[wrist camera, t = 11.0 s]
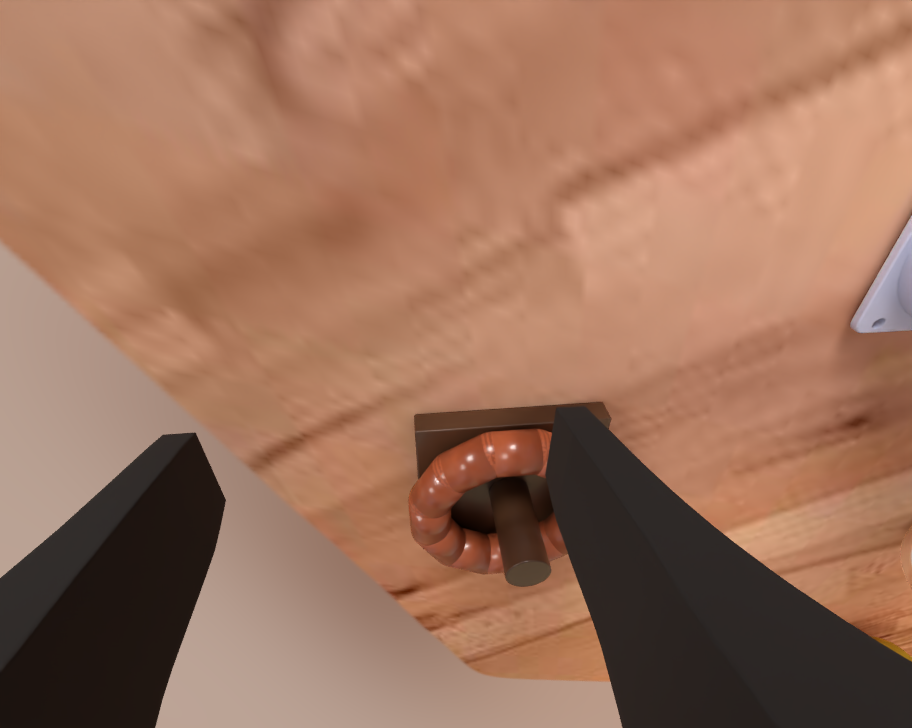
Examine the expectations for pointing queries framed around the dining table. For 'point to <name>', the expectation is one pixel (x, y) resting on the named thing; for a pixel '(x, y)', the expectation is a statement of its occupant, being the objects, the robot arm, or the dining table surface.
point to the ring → (907, 556)
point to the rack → (500, 484)
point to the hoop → (465, 472)
